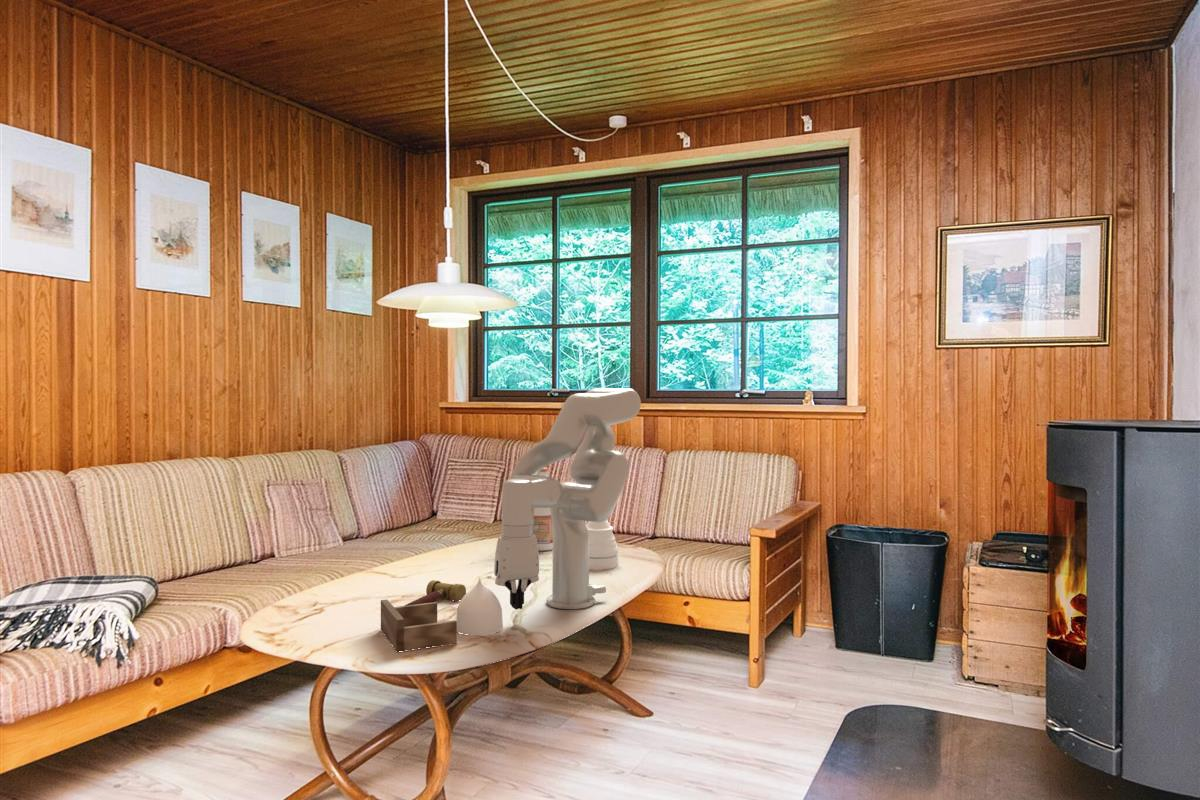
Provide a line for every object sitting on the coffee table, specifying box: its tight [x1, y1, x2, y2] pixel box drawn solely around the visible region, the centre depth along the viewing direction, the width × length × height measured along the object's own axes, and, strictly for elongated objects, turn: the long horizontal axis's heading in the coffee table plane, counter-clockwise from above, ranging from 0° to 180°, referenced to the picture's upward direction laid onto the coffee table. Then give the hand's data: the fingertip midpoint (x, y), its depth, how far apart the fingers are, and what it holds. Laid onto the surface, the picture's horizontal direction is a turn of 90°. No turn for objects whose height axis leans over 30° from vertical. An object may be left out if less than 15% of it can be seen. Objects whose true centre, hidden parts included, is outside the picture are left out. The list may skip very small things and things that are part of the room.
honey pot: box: [586, 519, 619, 570], centre depth 250 cm, size 13×13×18 cm
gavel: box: [403, 579, 467, 606], centre depth 203 cm, size 21×5×10 cm
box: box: [380, 599, 458, 653], centre depth 178 cm, size 13×17×7 cm
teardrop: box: [455, 577, 504, 636], centre depth 185 cm, size 11×11×12 cm
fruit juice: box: [533, 466, 553, 552], centre depth 274 cm, size 9×9×28 cm
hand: (516, 607), depth 189 cm, fingers closed
